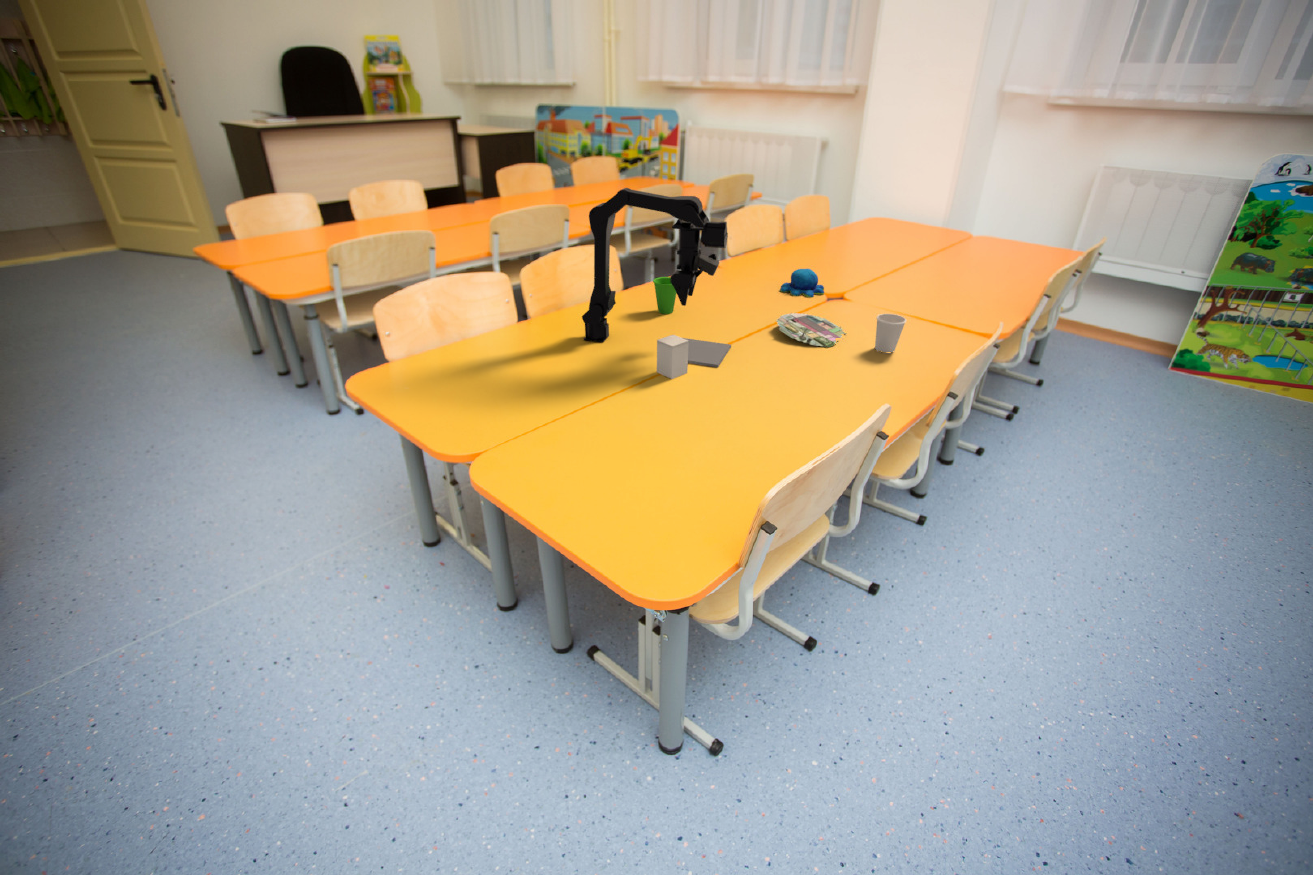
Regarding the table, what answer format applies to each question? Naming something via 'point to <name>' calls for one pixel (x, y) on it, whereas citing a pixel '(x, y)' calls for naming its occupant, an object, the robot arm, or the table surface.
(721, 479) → the table surface
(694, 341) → the mat
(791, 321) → the city model
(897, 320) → the dixie cup
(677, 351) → the white tall block
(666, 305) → the cup
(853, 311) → the table surface
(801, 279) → the plush toy
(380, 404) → the table surface
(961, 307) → the table surface
